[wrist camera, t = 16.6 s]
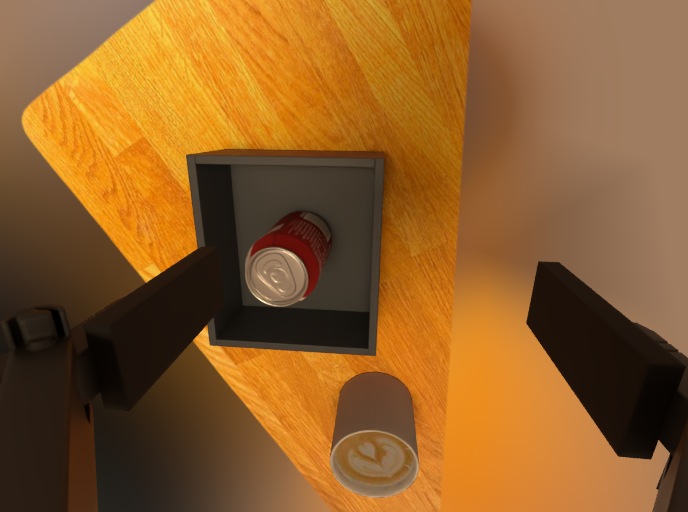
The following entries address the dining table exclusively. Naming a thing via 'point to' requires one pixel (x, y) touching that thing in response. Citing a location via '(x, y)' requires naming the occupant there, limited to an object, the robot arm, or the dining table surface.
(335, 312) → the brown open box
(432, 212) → the dining table surface
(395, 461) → the coffee mug
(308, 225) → the soda can
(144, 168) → the dining table surface
